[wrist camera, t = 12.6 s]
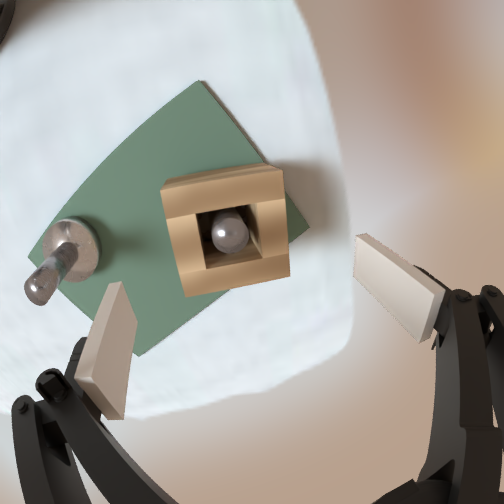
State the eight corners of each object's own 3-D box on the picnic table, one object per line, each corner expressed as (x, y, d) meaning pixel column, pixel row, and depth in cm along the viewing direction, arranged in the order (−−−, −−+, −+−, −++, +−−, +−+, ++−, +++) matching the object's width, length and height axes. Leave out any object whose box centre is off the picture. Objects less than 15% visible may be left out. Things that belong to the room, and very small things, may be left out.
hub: (165, 206, 27) (156, 232, 20) (227, 155, 26) (240, 162, 19) (215, 260, 30) (223, 299, 23) (273, 214, 30) (299, 241, 22)
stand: (40, 244, 25) (-4, 286, 16) (72, 202, 24) (25, 235, 15) (79, 285, 28) (49, 338, 19) (114, 248, 27) (85, 298, 18)
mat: (28, 255, 25) (27, 256, 25) (198, 80, 23) (198, 79, 22) (139, 354, 34) (138, 356, 34) (308, 226, 31) (309, 227, 31)
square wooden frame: (167, 178, 24) (159, 190, 19) (263, 162, 25) (282, 170, 20) (185, 265, 28) (185, 297, 22) (271, 249, 29) (290, 276, 24)
